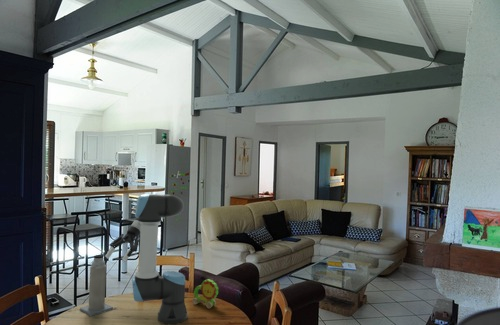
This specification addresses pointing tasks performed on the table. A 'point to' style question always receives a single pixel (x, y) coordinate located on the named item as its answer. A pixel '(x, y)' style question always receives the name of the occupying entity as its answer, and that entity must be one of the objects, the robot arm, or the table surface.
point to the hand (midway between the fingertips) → (115, 259)
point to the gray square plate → (95, 312)
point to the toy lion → (206, 293)
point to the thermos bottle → (97, 283)
